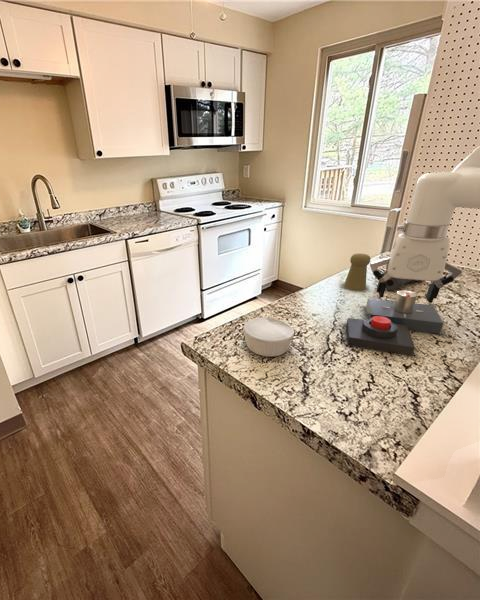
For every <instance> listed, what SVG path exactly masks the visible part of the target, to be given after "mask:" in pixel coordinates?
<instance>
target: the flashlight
mask: <svg viewBox="0 0 480 600" xmlns="http://www.w3.org/2000/svg"><path fill="white" fill-rule="evenodd" d="M416 281H418V280H411V279H400V278H393V277H391V278H390V279H388V280H386V283H387V285H386V289H385V290H387V291H388V290H389V291H396V290H399V289H401V288H403V286H405V285H406V284H411V283H413V282H416Z"/></svg>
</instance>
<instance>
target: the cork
mask: <svg viewBox="0 0 480 600" xmlns="http://www.w3.org/2000/svg"><path fill="white" fill-rule="evenodd" d="M349 261H350V267H349V269H348V272H347V276H346V278H345V281H344V283H343V287H344V289H346V290H349V291H356V292H357V291H358V292H360V291H364V290H366V289H367V273H368V271H367V270H368V266H369V265H370V263H371V256H370V255H369V254H366V253H353V254H352V255H351V256H350V259H349Z"/></svg>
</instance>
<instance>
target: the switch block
mask: <svg viewBox="0 0 480 600" xmlns="http://www.w3.org/2000/svg"><path fill="white" fill-rule="evenodd" d="M371 320H372V318H368V317H366V319H360V318H353V317H347V320H346V327H345V328H346V342H347V346H351V347H357V348H364V349H370V350H375V351H380V352H381V351H382V352H386V353H387V352H388V353H393V354H401V355H406V356H413V354H414V352H415V349H416V346H415V344H414V342H413V339H412V336H411V333H410V330H408V328H407V325H400V324H394V323H392V322H391V323H390V327H389V329H378V328H375V327H373V326H371V325H370V324H371Z"/></svg>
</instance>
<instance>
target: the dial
mask: <svg viewBox="0 0 480 600" xmlns="http://www.w3.org/2000/svg"><path fill="white" fill-rule="evenodd" d="M417 298H418V293H417V292H414V291H410V290H398V291H397V292H396V294H395V299H394V300H393V301H394V305H393V309H394V310H395V311H398V312H402V313H411V312H412V311H413V308H414V305H415V303H416V301H417Z"/></svg>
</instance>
